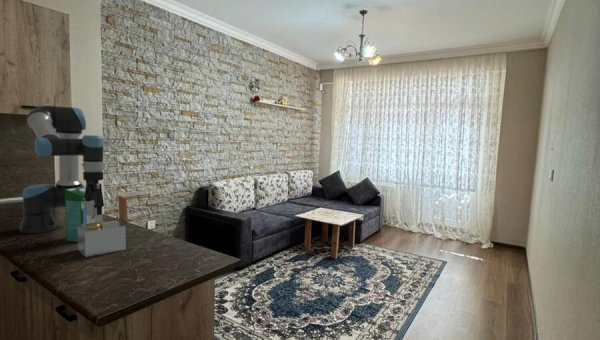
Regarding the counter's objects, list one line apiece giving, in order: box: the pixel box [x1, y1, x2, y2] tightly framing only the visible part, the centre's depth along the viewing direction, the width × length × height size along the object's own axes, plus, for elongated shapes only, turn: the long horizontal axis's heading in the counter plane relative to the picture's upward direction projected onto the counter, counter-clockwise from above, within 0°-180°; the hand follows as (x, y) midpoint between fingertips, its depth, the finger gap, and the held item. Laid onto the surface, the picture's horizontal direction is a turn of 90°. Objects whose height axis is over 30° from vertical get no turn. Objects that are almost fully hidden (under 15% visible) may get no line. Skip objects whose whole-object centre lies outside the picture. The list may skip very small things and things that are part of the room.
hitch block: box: [77, 220, 127, 258], centre depth 150 cm, size 12×16×11 cm
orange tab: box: [117, 194, 129, 225], centre depth 155 cm, size 8×12×1 cm
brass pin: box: [86, 222, 103, 229], centre depth 148 cm, size 6×6×12 cm
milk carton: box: [64, 187, 95, 243], centre depth 162 cm, size 9×9×25 cm
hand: (94, 218), depth 147 cm, fingers open, 13 cm apart
